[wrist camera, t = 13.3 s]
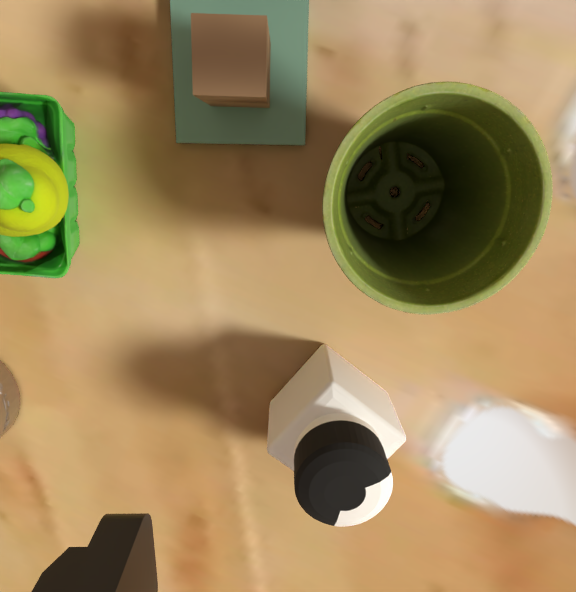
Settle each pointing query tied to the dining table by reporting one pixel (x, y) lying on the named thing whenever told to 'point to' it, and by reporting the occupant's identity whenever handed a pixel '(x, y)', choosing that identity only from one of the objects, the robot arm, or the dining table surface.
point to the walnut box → (231, 59)
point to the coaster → (283, 77)
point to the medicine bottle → (335, 439)
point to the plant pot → (438, 198)
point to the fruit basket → (36, 187)
